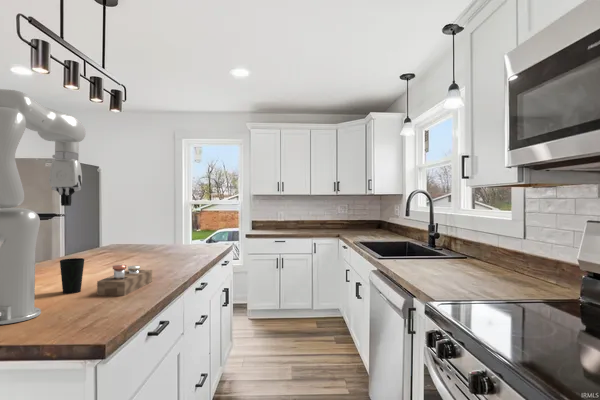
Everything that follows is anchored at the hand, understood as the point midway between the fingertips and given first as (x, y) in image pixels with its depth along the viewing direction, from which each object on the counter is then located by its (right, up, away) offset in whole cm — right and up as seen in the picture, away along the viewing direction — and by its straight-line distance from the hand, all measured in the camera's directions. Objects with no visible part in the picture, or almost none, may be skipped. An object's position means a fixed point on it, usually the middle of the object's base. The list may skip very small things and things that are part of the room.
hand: (66, 205), depth 132 cm
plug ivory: (+22, -32, +9) cm, 40 cm away
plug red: (+22, -30, -2) cm, 37 cm away
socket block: (+22, -32, +3) cm, 39 cm away
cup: (+5, -32, -3) cm, 33 cm away
